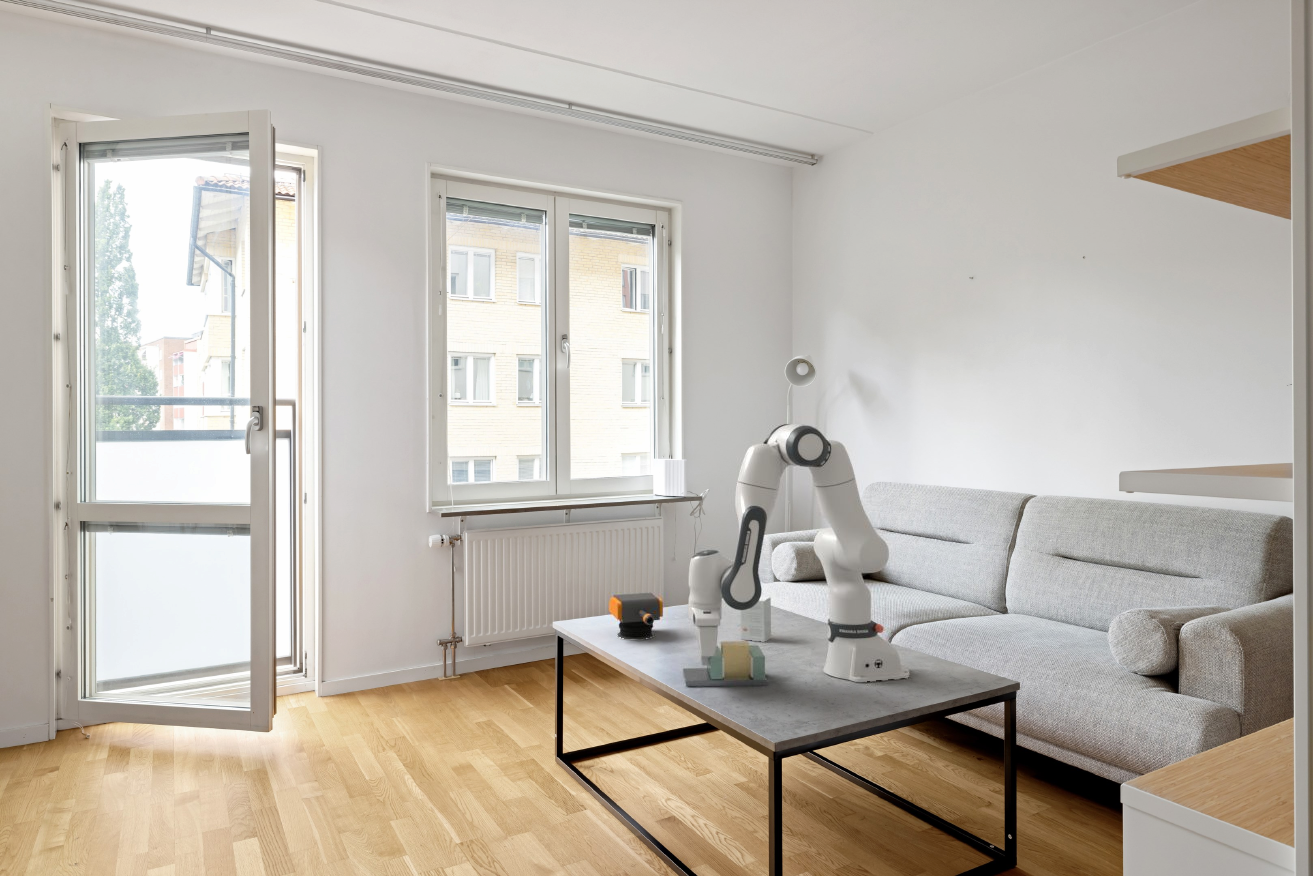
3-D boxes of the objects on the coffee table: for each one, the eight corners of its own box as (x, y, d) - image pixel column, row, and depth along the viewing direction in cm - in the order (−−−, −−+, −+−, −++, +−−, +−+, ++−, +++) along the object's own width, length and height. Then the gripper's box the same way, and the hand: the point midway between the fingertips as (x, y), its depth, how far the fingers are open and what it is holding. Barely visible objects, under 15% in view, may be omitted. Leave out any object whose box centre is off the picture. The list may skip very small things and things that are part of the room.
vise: (760, 672, 226) (759, 645, 226) (766, 685, 215) (766, 656, 215) (683, 674, 226) (682, 646, 225) (685, 686, 215) (685, 657, 214)
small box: (771, 638, 263) (771, 596, 263) (764, 642, 258) (764, 600, 258) (747, 635, 267) (747, 594, 267) (740, 639, 261) (740, 598, 261)
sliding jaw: (719, 666, 226) (719, 645, 226) (724, 679, 215) (724, 657, 215) (706, 667, 226) (706, 646, 226) (710, 679, 215) (710, 657, 215)
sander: (626, 651, 249) (626, 609, 249) (608, 631, 273) (608, 593, 273) (673, 647, 253) (673, 605, 253) (651, 628, 277) (651, 590, 277)
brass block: (721, 671, 223) (720, 641, 223) (747, 671, 223) (746, 641, 223) (723, 676, 218) (722, 646, 218) (749, 676, 218) (749, 645, 218)
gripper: (690, 603, 230) (689, 653, 231) (696, 620, 210) (695, 675, 210) (712, 603, 231) (712, 653, 231) (721, 620, 210) (720, 675, 210)
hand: (704, 664), depth 220 cm, fingers closed, pressing on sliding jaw
